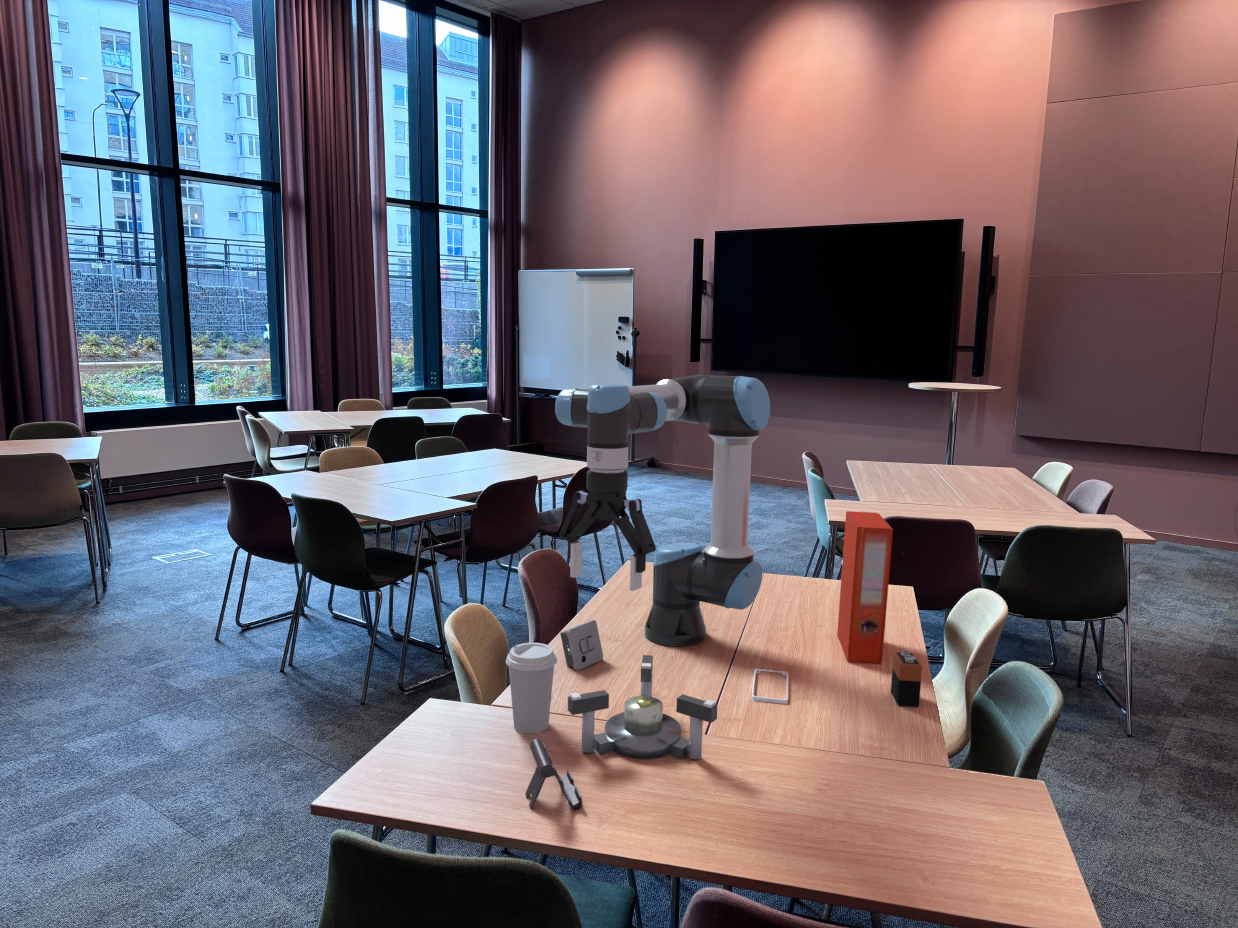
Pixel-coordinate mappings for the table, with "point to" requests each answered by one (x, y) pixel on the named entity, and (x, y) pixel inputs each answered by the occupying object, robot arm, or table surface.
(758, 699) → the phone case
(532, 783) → the portable electronic device stand
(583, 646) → the electrical switch
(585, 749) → the foot screw
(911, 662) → the battery
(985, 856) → the table surface
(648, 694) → the foot screw
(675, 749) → the levelling base
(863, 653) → the file binder
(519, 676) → the coffee cup
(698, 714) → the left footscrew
